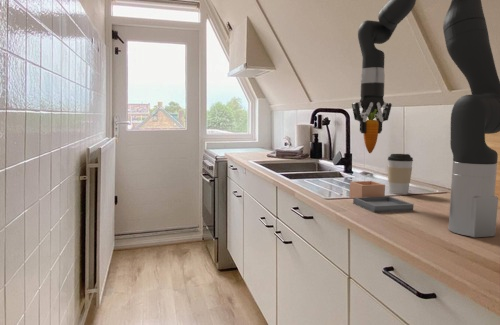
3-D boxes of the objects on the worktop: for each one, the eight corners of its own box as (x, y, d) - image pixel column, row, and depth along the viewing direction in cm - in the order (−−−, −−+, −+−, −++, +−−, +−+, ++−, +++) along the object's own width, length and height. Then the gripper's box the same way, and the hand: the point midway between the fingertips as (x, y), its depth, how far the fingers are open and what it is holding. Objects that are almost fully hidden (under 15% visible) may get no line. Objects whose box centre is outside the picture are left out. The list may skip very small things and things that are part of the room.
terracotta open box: (384, 200, 131) (385, 184, 130) (361, 201, 129) (362, 185, 128) (371, 195, 139) (371, 180, 139) (349, 196, 137) (349, 181, 137)
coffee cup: (380, 191, 148) (382, 152, 147) (399, 190, 152) (401, 152, 150) (397, 195, 140) (399, 154, 138) (416, 194, 143) (419, 154, 142)
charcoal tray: (413, 210, 116) (413, 204, 116) (374, 212, 113) (374, 206, 113) (388, 201, 129) (388, 196, 129) (353, 203, 126) (353, 197, 126)
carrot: (359, 153, 132) (360, 109, 131) (371, 152, 134) (372, 109, 133) (368, 154, 128) (370, 108, 126) (380, 153, 130) (382, 109, 128)
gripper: (358, 80, 124) (357, 133, 125) (398, 82, 127) (396, 133, 128) (347, 83, 131) (346, 133, 132) (385, 84, 134) (383, 133, 136)
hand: (370, 133), depth 130 cm, fingers closed on carrot, 5 cm apart
